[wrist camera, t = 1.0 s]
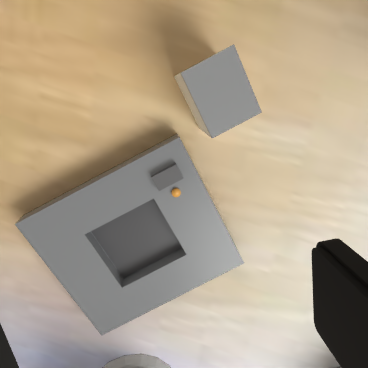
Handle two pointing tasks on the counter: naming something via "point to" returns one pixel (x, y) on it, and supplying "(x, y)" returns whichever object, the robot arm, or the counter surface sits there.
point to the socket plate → (133, 236)
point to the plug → (218, 92)
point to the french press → (137, 362)
